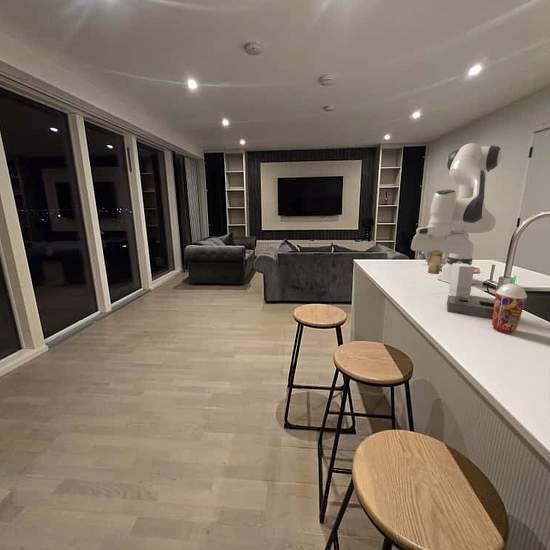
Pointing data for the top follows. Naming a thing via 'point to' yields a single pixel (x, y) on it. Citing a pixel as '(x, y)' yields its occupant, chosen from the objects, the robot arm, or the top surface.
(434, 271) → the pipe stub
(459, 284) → the skincare box
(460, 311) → the manifold block
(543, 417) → the top surface
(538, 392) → the top surface
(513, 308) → the smoothie
